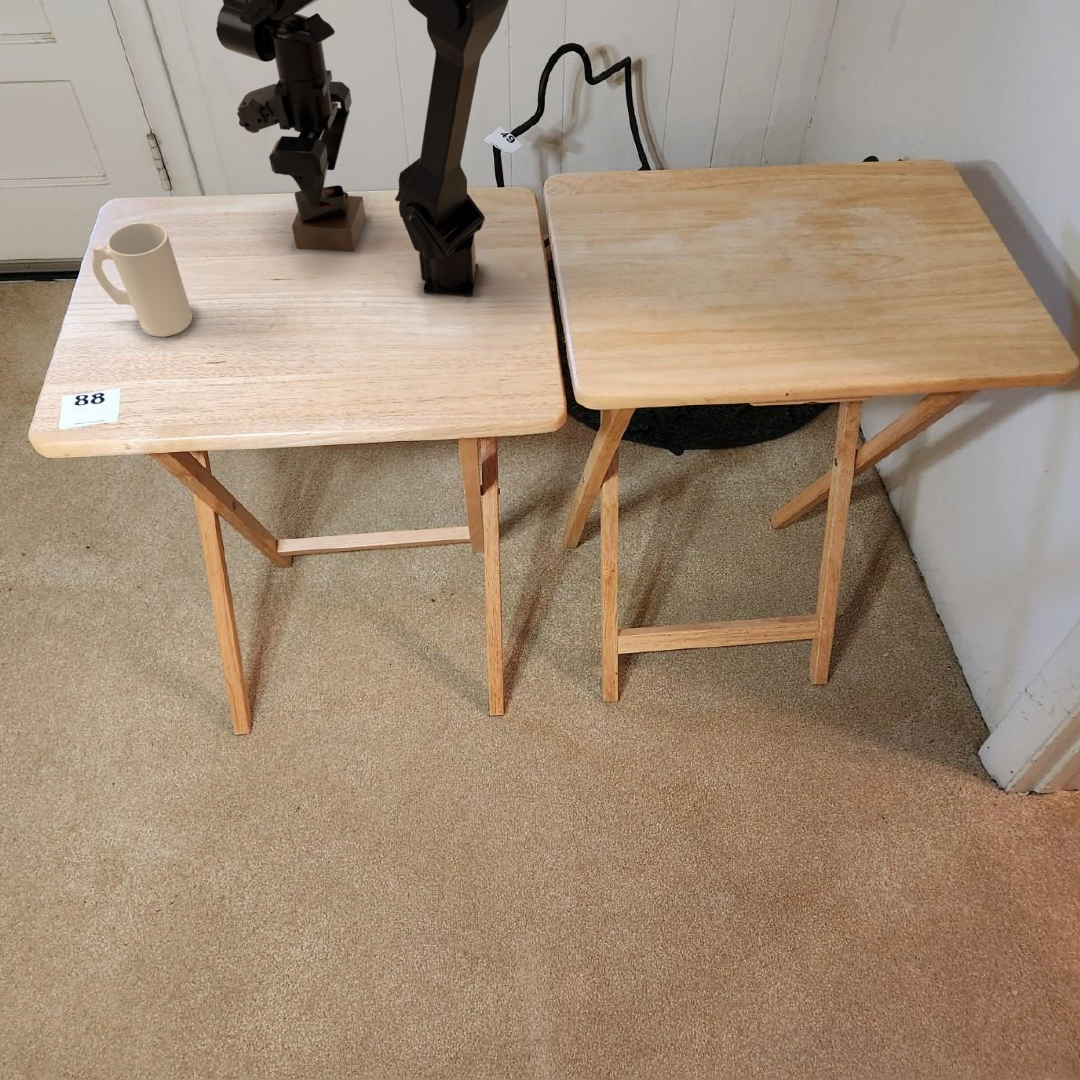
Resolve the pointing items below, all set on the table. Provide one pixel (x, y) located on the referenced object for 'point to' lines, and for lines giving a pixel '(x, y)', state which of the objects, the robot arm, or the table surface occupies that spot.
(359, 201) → the walnut block
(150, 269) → the mug
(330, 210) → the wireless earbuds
